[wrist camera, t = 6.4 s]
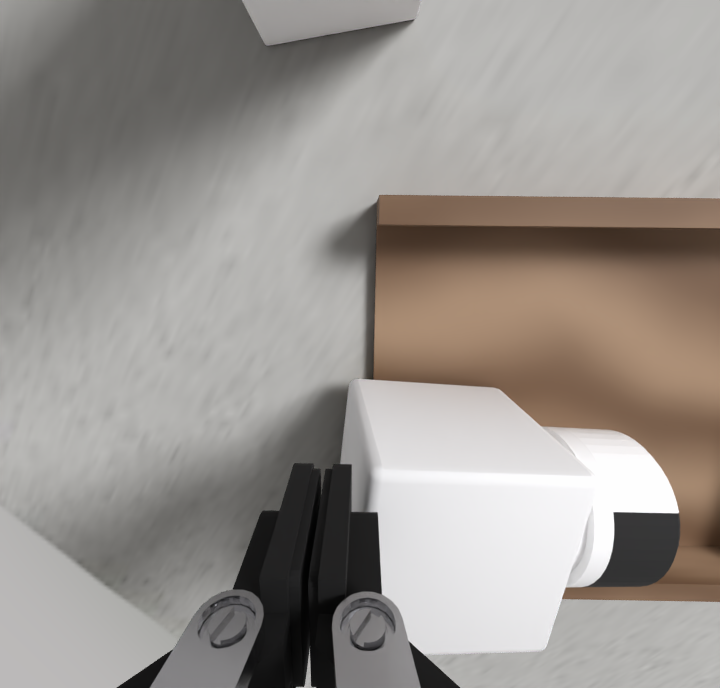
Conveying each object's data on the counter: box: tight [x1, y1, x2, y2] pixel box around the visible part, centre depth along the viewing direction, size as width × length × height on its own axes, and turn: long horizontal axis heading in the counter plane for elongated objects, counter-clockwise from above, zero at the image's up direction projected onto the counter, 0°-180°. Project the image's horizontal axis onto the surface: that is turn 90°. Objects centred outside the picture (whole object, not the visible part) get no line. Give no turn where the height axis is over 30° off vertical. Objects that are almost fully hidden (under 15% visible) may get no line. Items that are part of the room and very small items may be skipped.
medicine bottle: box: [340, 379, 680, 655], centre depth 16 cm, size 7×7×12 cm
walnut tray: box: [373, 195, 720, 602], centre depth 18 cm, size 18×20×3 cm
